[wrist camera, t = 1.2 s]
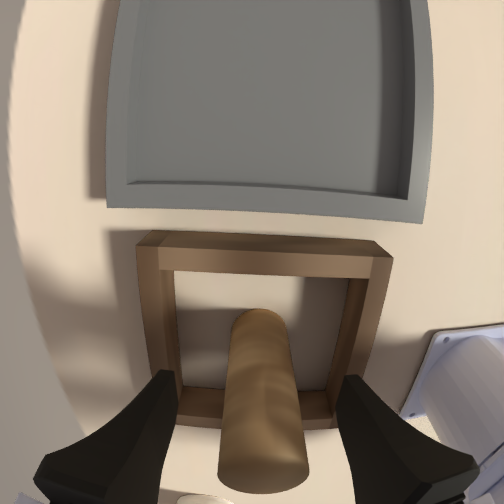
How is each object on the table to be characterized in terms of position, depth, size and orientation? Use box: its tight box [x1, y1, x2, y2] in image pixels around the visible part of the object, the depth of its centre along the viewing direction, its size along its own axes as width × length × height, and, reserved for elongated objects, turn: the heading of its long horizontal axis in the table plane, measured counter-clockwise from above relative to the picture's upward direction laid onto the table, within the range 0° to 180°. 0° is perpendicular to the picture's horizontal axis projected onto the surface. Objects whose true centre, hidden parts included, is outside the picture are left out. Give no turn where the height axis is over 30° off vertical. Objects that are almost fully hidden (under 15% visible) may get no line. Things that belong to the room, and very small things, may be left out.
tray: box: [106, 0, 434, 224], centre depth 11 cm, size 14×14×2 cm
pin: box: [217, 309, 309, 494], centre depth 12 cm, size 3×3×9 cm
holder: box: [136, 230, 394, 430], centre depth 16 cm, size 11×11×2 cm
